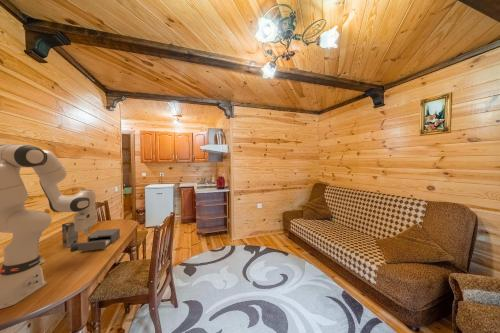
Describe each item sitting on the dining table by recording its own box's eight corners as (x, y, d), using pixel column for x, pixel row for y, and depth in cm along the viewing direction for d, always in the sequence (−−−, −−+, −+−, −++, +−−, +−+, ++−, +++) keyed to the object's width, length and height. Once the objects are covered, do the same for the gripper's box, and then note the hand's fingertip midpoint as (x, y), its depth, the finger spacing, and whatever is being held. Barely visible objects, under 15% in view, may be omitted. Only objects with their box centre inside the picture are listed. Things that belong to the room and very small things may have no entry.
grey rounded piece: (75, 251, 132) (75, 245, 132) (69, 251, 131) (69, 246, 131) (79, 248, 136) (79, 243, 136) (72, 249, 135) (72, 243, 135)
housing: (111, 243, 144) (111, 234, 144) (87, 246, 140) (87, 236, 140) (119, 236, 158) (119, 228, 158) (97, 238, 154) (97, 230, 154)
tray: (105, 248, 134) (105, 241, 134) (78, 251, 130) (78, 243, 130) (113, 240, 147) (113, 234, 147) (89, 242, 143) (89, 235, 143)
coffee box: (62, 245, 141) (61, 224, 141) (73, 242, 147) (72, 221, 146) (67, 248, 137) (66, 226, 137) (78, 244, 143) (78, 223, 142)
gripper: (90, 210, 136) (90, 228, 136) (71, 217, 116) (71, 240, 116) (100, 209, 137) (100, 228, 138) (83, 217, 118) (83, 239, 118)
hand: (87, 233), depth 127 cm, fingers closed
